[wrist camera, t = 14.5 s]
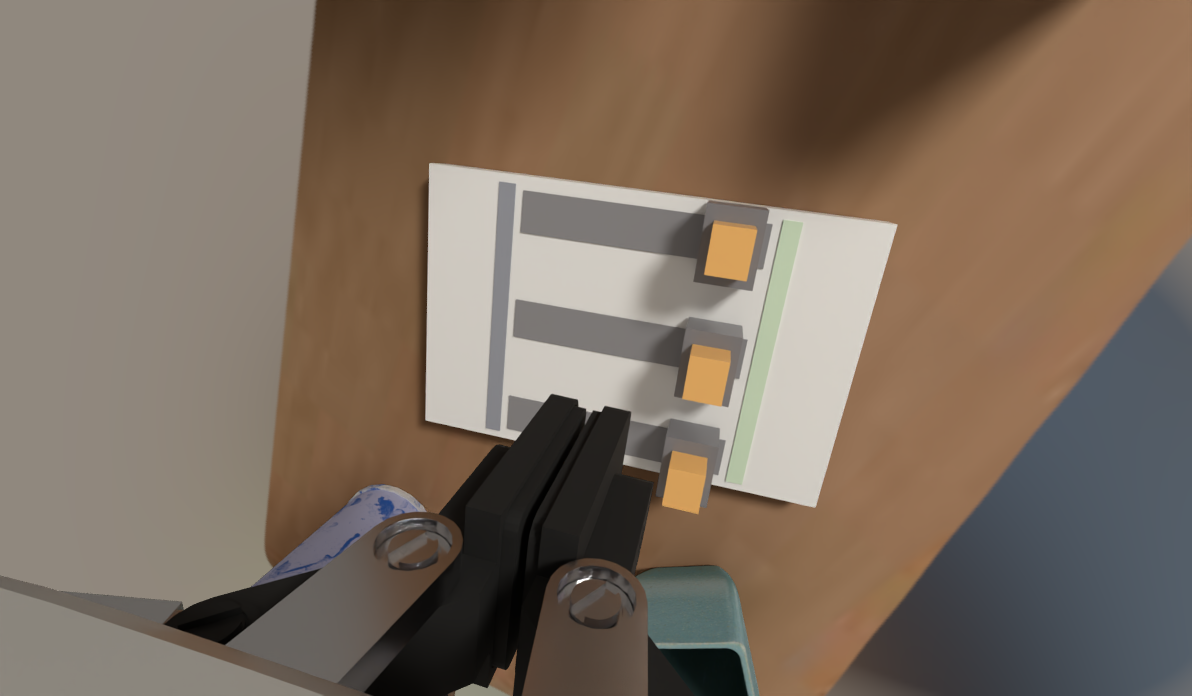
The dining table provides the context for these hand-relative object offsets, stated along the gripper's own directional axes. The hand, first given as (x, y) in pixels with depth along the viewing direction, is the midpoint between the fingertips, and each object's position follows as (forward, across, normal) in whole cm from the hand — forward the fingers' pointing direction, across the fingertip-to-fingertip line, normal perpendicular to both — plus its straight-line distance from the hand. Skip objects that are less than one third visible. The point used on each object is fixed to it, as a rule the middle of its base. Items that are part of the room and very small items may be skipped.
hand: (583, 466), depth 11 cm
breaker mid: (+21, -3, +5) cm, 22 cm away
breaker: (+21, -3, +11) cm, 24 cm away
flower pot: (+23, -5, +24) cm, 33 cm away
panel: (+23, +2, +5) cm, 24 cm away
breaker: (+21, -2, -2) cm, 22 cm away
